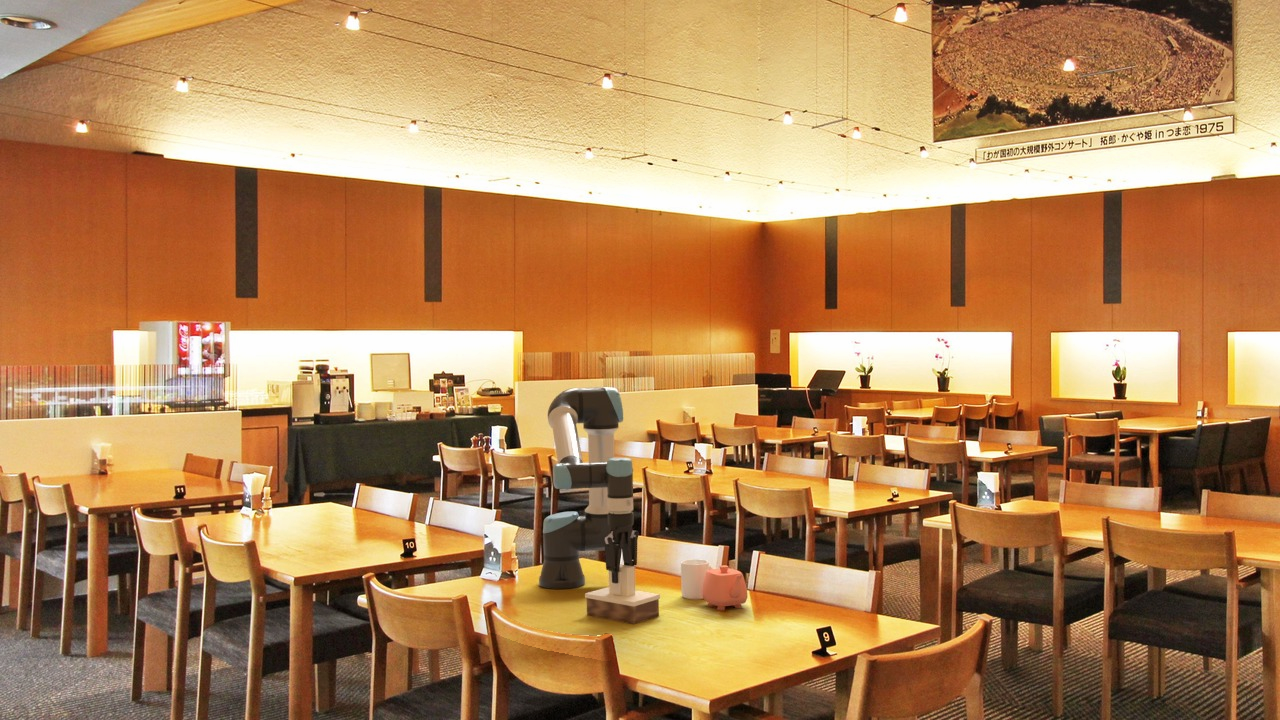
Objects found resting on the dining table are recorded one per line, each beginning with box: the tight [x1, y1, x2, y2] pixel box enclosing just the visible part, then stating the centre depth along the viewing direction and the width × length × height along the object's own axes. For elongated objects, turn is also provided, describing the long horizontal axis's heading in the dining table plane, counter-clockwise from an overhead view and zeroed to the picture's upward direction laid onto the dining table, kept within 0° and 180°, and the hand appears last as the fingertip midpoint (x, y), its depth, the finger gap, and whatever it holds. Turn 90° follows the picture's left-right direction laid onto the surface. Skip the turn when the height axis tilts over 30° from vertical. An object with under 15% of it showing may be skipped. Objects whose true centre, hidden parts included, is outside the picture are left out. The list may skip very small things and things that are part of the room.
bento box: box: [586, 598, 660, 625], centre depth 307 cm, size 18×11×5 cm, turn 50°
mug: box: [680, 558, 714, 600], centre depth 331 cm, size 9×12×11 cm
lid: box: [584, 564, 661, 606], centre depth 307 cm, size 19×12×11 cm, turn 50°
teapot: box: [702, 564, 748, 612], centre depth 316 cm, size 20×12×12 cm, turn 25°
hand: (622, 592), depth 307 cm, fingers closed on lid, 3 cm apart
